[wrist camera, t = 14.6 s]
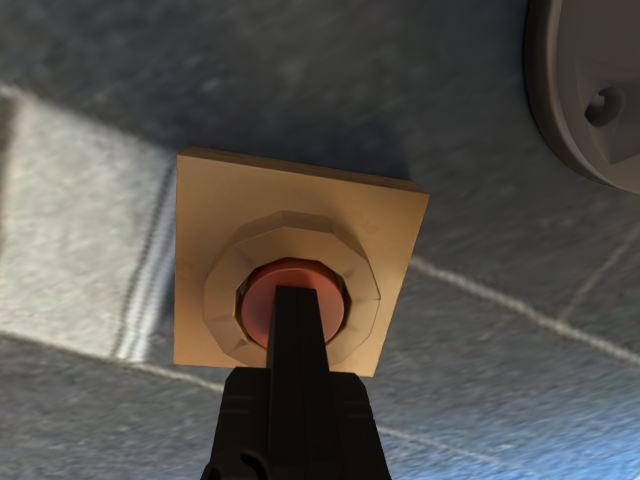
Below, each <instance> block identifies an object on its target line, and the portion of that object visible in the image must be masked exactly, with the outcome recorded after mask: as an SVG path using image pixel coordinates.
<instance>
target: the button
mask: <svg viewBox="0 0 640 480" xmlns="http://www.w3.org/2000/svg"><path fill="white" fill-rule="evenodd" d="M276 285H281V286H290V287H300V288H310V289H316V290H317V296H318V302H319V308H320V314H321V321H322V327H323V333H324V339H325V342H327V341H328V340H329V339H330V338H331V337H332V336H333V335H334V334H335V333H336V331H337V330H338V328H339V326H340V324H341V322H342V319H343V315H344V302H343V298H342V294H341V290H340V287H339V283H338V280H337V276H336V274H335V272H334V271H333V270H331V269H330V268H329V267H327V266H326V265H324V264H323V263H322V262H320V261H319V260H310V259H302V258H293V257H284V258H281V259H278V260H276V261H273V262H270V263H268V264H265V265H262V266H259V267H257V268H255V269H254V270H253V271H252V273H251V274H250V275H249V276H248V279H247V282H246V287H245V292H244V297H243V303H242V308H241V314H242V320H243V324H244V326H245V328H246V330H247V332H248V333H249V334H250V336H251V337H252V338H253V339H254V340H255V341H256V342H258V343H259V344H261V345H262V346H264V347H266V348H267V343H268V336H269V330H270V323H271V316H272V310H273V303H274V296H275V290H276Z"/></svg>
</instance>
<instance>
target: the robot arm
mask: <svg viewBox="0 0 640 480" xmlns="http://www.w3.org/2000/svg"><path fill="white" fill-rule="evenodd" d="M525 76H526V86H527V91H528V96H529V101H530V105H531V108H532V112H533V115H534V118H535V120H536V123H537V125H538V127H539V129H540V132H541V134H542V135H543V137H544V139H545V140H546V142H547V144H548V145H549V147H550V148H551V149H552V150H553V152H554V153H555V154H556V155H557V156H558V157H559V158H560V159H561V160H562V161H563V162H564V163H565V164H566V165H567V166H569V167H570V168H571V169H573V170H574V171H575V172H577V173H579V174H580V175H582V176H584V177H586V178H588V179H591V180H593V181H596V182H598V183H601V184H605V185H608V186H611V187H615V188H618V189H622V190H625V191H628V192H632V193H636V194H640V0H531V1H530V6H529V12H528V19H527V25H526V36H525ZM369 403H370V402H369V398H368V395H367V391H366V387H365V386H364V384H363V383H362V382H361V380H360V379H359V377H358V376H357V375H356V373H353V372H337V371H330V369H329V363H328V357H327V351H326V345H325V339H324V333H323V327H322V321H321V314H320V308H319V302H318V296H317V290H316V289H310V288H300V287H290V286H281V285H276V290H275V296H274V303H273V310H272V316H271V323H270V330H269V336H268V343H267V358H266V368H258V367H242V366H236V367H235V368H234V370H233V371H232V372H231V374H230V375H229V376H228V378H227V379H226V382H225V387H224V392H223V397H222V402H221V407H220V413H219V417H218V422H217V427H216V432H215V437H214V442H213V448H212V453H211V458H210V462H209V463H208V464H207V465H206V467H205V469H204V472H203V474H202V477H201V479H200V480H392V479H391V476H390V474H389V471H388V467H387V464H386V460H385V457H384V453H383V449H382V446H381V442H380V438H379V435H378V431H377V427H376V424H375V420H374V419H373V413H372V409H371V406H370V405H369Z"/></svg>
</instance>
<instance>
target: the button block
mask: <svg viewBox="0 0 640 480" xmlns="http://www.w3.org/2000/svg"><path fill="white" fill-rule="evenodd" d="M429 197H430V194H429V193H428V192H426V191H425V190H423V189H422V188H421V187H419V186H418V185H417V184H415V183H414V182H412V181H408V180H401V179H395V178H389V177H383V176H377V175H371V174H364V173H358V172H352V171H346V170H340V169H334V168H327V167H321V166H315V165H309V164H303V163H297V162H290V161H284V160H278V159H272V158H266V157H260V156H254V155H247V154H241V153H235V152H229V151H223V150H217V149H210V148H204V147H198V146H191V147H189V148H187V149H186V150H184V151H182V152H181V153H179V154H177V183H176V243H175V302H174V361H173V363H174V364H182V365H197V366H213V367H228V368H235V367H236V366H242V367H258V368H266V358H267V348H266V347H264V346H262V345H261V344H259V343H258V342H256V341H255V340H254V339H253V338H252V337H251V336H250V334H249V333H248V332H247V330H246V328H245V326H244V324H243V320H242V314H241V308H242V303H243V297H244V292H245V287H246V282H247V279H248V276H249V275H250V274H251V273H252V271H253V270H254V269H255V268H257V267H259V266H262V265H265V264H268V263H270V262H273V261H276V260H278V259H281V258H284V257H293V258H302V259H310V260H319V261H320V262H322V263H323V264H324V265H326V266H327V267H329V268H330V269H331V270H333V271H334V272H335V274H336V276H337V280H338V283H339V287H340V290H341V294H342V298H343V302H344V315H343V319H342V322H341V324H340V326H339V328H338V330H337V331H336V333H335V334H334V335H333V336H332V337H331V338H330V339H329V340H328V341H327V342H325V345H326V351H327V357H328V363H329V369H330V371H337V372H353V373H356V375H357V376H366V377H373V375H374V372H375V369H376V366H377V363H378V360H379V356H380V353H381V350H382V347H383V344H384V340H385V337H386V334H387V331H388V328H389V324H390V321H391V318H392V315H393V312H394V309H395V305H396V302H397V299H398V296H399V293H400V289H401V286H402V283H403V280H404V277H405V273H406V270H407V267H408V264H409V261H410V258H411V254H412V251H413V248H414V245H415V242H416V238H417V235H418V232H419V229H420V226H421V223H422V219H423V216H424V213H425V210H426V207H427V203H428V200H429Z"/></svg>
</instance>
